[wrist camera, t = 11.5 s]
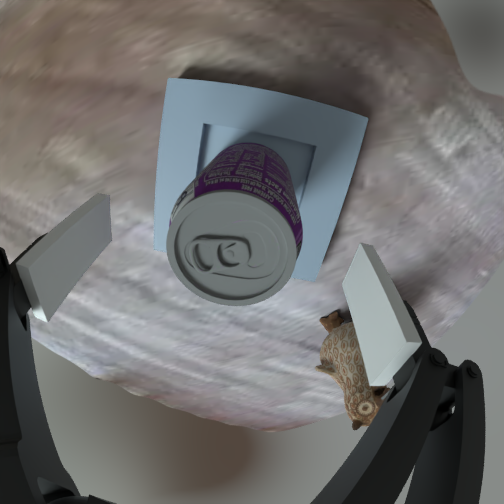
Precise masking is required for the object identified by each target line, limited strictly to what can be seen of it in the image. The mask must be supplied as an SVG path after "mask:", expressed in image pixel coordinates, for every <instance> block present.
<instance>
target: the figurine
mask: <svg viewBox="0 0 504 504" xmlns="http://www.w3.org/2000/svg"><path fill="white" fill-rule="evenodd" d="M320 322H321V323H322V325H323V326H324V327H325V329H326V330H327V331H328V332H329V335H328V336H327V337H326V339H325V340H324V342H323V344H322V347H321V351H320V361H321V363H322V365H319V366H316V367H315V369H316V371H319V372H324V373H326V374H329V375H330V376H331V377H332V378H333V379H334V380H335V382H336V383H337V384H338V385H339V386H340V387H341V388H342V390H343V391H344V403H345V409H346V412H347V414H348V416H349V418H350V419H351V420H352V421H353V424H352V428H353V430H357V429H358V428H360V427H361V426H369V425H370V424H371V422H372V421H373V419H374V417H375V416H376V414H377V412H378V411H379V409H380V407H381V405H382V404H383V402H384V400H385V398H386V397H385V398H384V399H383V400H382V399H381V398H382V397H383V396H384V395H385V394H386V393H387V392H388V391H389V390H390V388H387V386H386V385H385V386H370V385H369V381H368V377H367V373H366V369H365V365H364V361H363V357H362V353H361V349H360V345H359V341H358V338H357V334H356V330H355V327H354V323H353V321H351V322H349V323H346V324H343V325H341V324H342V323H343V322H344V320H343V319H342V318H340V317H339V316H338V312H337V311H336V312H334V313H332V314H330V315H329V317H327V318H321V319H320Z"/></svg>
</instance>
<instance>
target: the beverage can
mask: <svg viewBox="0 0 504 504" xmlns="http://www.w3.org/2000/svg"><path fill="white" fill-rule="evenodd" d="M302 241H303V227H302V221H301V216H300V212H299V208H298V203H297V199H296V195H295V191H294V187H293V183H292V179H291V175H290V172H289V169H288V167H287V165H286V163H285V162H284V160H283V159H282V158H281V157H280V156H279V155H278V154H277V153H276V152H275V151H273V150H272V149H270V148H268V147H266V146H264V145H261V144H257V143H239V144H235V145H232V146H229V147H227V148H226V149H224V150H222V151H221V152H220V153H219V154H218V155H217V156H216V157H215V158H214V159H213V160H212V161H211V162H210V163H209V164H208V165H207V166H206V167H205V168H204V169H203V170H202V171H201V172H200V173H199V174H198V176H197V177H196V178H195V179H194V180H193V181H192V182H191V183H190V184H189V185H188V186H187V188H186V189H185V190H184V191H183V192H182V193H181V195H180V196H179V198H178V199H177V201H176V203H175V205H174V207H173V209H172V212H171V216H170V222H169V230H168V233H167V239H166V250H167V256H168V260H169V263H170V265H171V268H172V270H173V271H174V273H175V275H176V276H177V277H178V279H179V280H180V281H181V282H182V283H183V284H184V285H185V286H186V287H187V288H188V289H189V290H190V291H192V292H193V293H195V294H196V295H198V296H199V297H201V298H203V299H206V300H208V301H211V302H213V303H217V304H221V305H228V306H245V305H251V304H255V303H258V302H261V301H264V300H266V299H268V298H270V297H271V296H273V295H274V294H276V293H277V292H278V291H280V290H281V289H282V288H283V287H284V286H285V284H286V283H287V282H288V280H289V279H290V277H291V275H292V273H293V271H294V268H295V264H296V260H297V258H298V256H299V253H300V251H301V247H302Z"/></svg>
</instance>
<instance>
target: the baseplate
mask: <svg viewBox="0 0 504 504" xmlns="http://www.w3.org/2000/svg"><path fill="white" fill-rule="evenodd" d="M368 119H369V118H367V117H364V116H361V115H359V114H356V113H353V112H350V111H347V110H343V109H340V108H337V107H334V106H330V105H327V104H324V103H320V102H316V101H313V100H309V99H305V98H301V97H297V96H293V95H289V94H284V93H280V92H275V91H270V90H265V89H260V88H254V87H248V86H242V85H236V84H229V83H221V82H213V81H203V80H192V79H179V78H168V82H167V88H166V95H165V101H164V108H163V116H162V123H161V132H160V141H159V151H158V162H157V174H156V190H155V210H154V250H157V251H162V252H167V250H166V239H167V233H168V230H169V222H170V216H171V212H172V209H173V207H174V205H175V203H176V201H177V199H178V198H179V196H180V195H181V193H182V192H183V191H184V190H185V189H186V188H187V186H188V185H189V184H190V183H191V182H192V181H193V180H194V179H195V178H196V177H197V176H198V174H199V173H200V172H201V171H202V170H203V169H204V168H205V167H206V166H207V165H208V164H209V163H210V162H211V161H212V160H213V159H214V158H215V157H216V156H217V155H218V154H219V153H220V152H221V151H222V150H224V149H226V148H227V147H229V146H232V145H235V144H239V143H257V144H261V145H264V146H266V147H268V148H270V149H272V150H273V151H275V152H276V153H277V154H278V155H279V156H280V157H281V158H282V159H283V160H284V162H285V163H286V165H287V167H288V169H289V172H290V175H291V179H292V183H293V187H294V191H295V195H296V199H297V203H298V208H299V212H300V216H301V221H302V227H303V241H302V247H301V251H300V253H299V256H298V258H297V260H296V264H295V268H294V271H293V273H292V275H291V278H297V279H302V280H307V281H313V282H315V279H316V277H317V274H318V272H319V269H320V267H321V264H322V261H323V259H324V256H325V253H326V251H327V248H328V245H329V243H330V240H331V237H332V234H333V231H334V229H335V226H336V223H337V220H338V217H339V214H340V211H341V208H342V205H343V202H344V199H345V196H346V193H347V190H348V187H349V184H350V181H351V178H352V174H353V171H354V168H355V165H356V161H357V158H358V155H359V151H360V148H361V144H362V141H363V137H364V133H365V130H366V126H367V122H368Z"/></svg>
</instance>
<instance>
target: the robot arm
mask: <svg viewBox="0 0 504 504" xmlns="http://www.w3.org/2000/svg"><path fill="white" fill-rule="evenodd" d="M111 241H112V234H111V218H110V195H106V194H100V193H97V194H96V195H95V196H93V197H92V198H91V199H89V200H88V201H87V202H85V203H84V204H83V205H82V206H80V207H79V208H78V209H76V210H75V211H74V212H73V213H71V214H70V215H69V216H68V217H67V218H65V219H64V220H63V221H62V222H60V223H59V224H58V225H57V226H56V227H55V228H53V229H52V230H51V231H50V232H49V233H46V234H44V235H42V236H41V237H39V238H38V239H36V240H35V241H34V242H33V243H32V245H30V246H29V247H28V248H27V250H24V251H23V252H22V253H21V254H20V255H19V256H18V257H17V258H16V259H15V260H14V261H13V262H12V263H11V264H10V265H9V262H8V259H7V256H6V253H5V250H4V249H3V248H1V247H0V504H116V503H113V502H109V501H106V500H104V499H101V498H98V497H95V496H92V495H89V497H84V496H80V493H79V491H78V489H77V487H76V485H75V483H74V481H73V480H72V478H71V476H70V475H69V474H68V473H67V471H66V470H65V468H64V467H63V465H62V463H61V461H60V458H59V456H58V453H57V450H56V447H55V445H54V442H53V439H52V435H51V432H50V429H49V426H48V423H47V419H46V415H45V412H44V407H43V404H42V399H41V395H40V391H39V386H38V381H37V375H36V370H35V364H34V357H33V350H32V341H31V331H30V319H29V316H28V313H27V312H28V310H29V309H30V308H32V310H33V313H34V315H35V317H36V318H39V319H41V320H43V321H45V322H49V320H50V319H51V317H52V316H53V315H54V313H55V312H56V310H57V309H58V308H59V306H60V305H61V303H62V302H63V301H64V299H65V298H66V297H67V295H68V294H69V293H70V291H71V290H72V289H73V287H74V286H75V285H76V283H77V282H78V281H79V280H80V278H81V277H82V276H83V274H84V273H85V272H86V271H87V269H88V268H89V267H90V266H91V265H92V263H93V262H94V261H95V260H96V258H97V257H98V256H99V255H100V254H101V253H102V251H103V250H104V249H105V248H106V247H107V246H108V244H109V243H110V242H111ZM342 287H343V290H344V293H345V296H346V300H347V303H348V306H349V310H350V313H351V316H352V320H353V323H354V327H355V330H356V334H357V338H358V341H359V345H360V349H361V353H362V357H363V361H364V365H365V369H366V373H367V377H368V381H369V385H370V386H385V385H386V384H387V383H388V382H389V381H390V380H391V379H392V378H393V380H394V383H395V385H394V386H393V387H392V388H391V389H390V390H389V391H388V392H387V393H386V394H385V395H384V396H383V397H382V398H381V399H382V400H383V399H384V398H385V397H386V398H385V400H384V402H383V404H382V405H381V407H380V409H379V411H378V412H377V414H376V416H375V417H374V419H373V421H372V422H371V424H370V425H369V427H368V429H367V430H366V432H365V433H364V435H363V436H362V438H361V439H360V441H359V442H358V444H357V445H356V447H355V448H354V450H353V451H352V452H351V454H350V455H349V457H348V458H347V459H346V461H345V462H344V463H343V465H342V466H341V467H340V469H339V470H338V471H337V473H336V474H335V475H334V476H333V478H332V479H331V480H330V481H329V483H328V484H327V485H326V486H325V487H324V489H323V490H322V491H321V492H320V493H319V494H318V496H317V497H316V498H315V499H314V500H313V501H312V502H311V503H310V504H394V503H395V501H396V499H397V498H398V496H399V494H400V492H401V491H402V489H403V487H404V485H405V483H406V481H407V480H408V478H409V476H410V474H411V472H412V470H413V468H414V465H415V468H414V472H413V476H412V480H411V484H410V487H409V491H408V494H407V498H406V501H405V504H479V499H480V493H481V486H482V478H483V469H484V455H485V403H484V388H483V379H482V373H481V370H480V369H479V366H478V365H477V364H476V363H474V362H473V361H471V360H465V361H464V362H463V363H462V364H461V365H460V366H459V367H457V366H454V365H451V364H449V363H448V360H447V358H446V356H445V355H444V354H443V353H442V352H441V351H440V350H438V349H436V348H431V346H430V344H429V341H428V339H427V337H426V335H425V333H424V331H423V328H422V326H421V325H420V322H419V320H418V319H417V316H416V314H415V312H414V310H413V308H412V307H411V306H410V305H409V304H408V303H407V302H406V301H404V300H402V299H401V297H400V295H399V293H398V291H397V289H396V287H395V285H394V283H393V281H392V279H391V277H390V276H389V274H388V272H387V270H386V268H385V266H384V265H383V263H382V261H381V259H380V257H379V256H378V254H377V252H376V250H375V249H374V247H373V246H372V245H368V244H364V243H360V244H359V247H358V249H357V251H356V254H355V256H354V258H353V261H352V263H351V265H350V267H349V270H348V272H347V274H346V276H345V278H344V281H343V283H342ZM454 406H455V410H454V413H452V408H453V407H454ZM415 463H416V464H415Z"/></svg>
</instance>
